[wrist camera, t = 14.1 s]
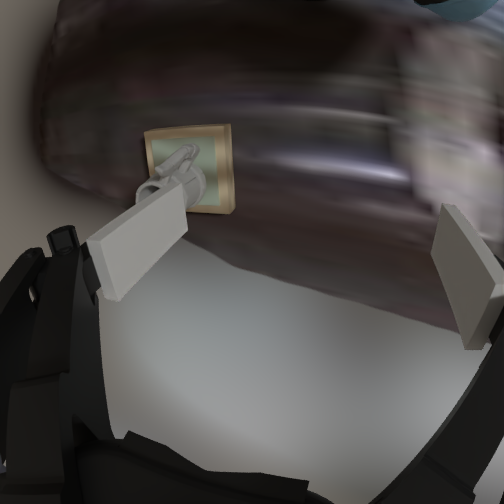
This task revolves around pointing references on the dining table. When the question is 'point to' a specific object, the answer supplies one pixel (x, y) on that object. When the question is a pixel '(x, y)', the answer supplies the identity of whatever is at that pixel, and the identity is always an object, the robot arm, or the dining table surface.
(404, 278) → the dining table surface
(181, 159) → the mug
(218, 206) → the stand
